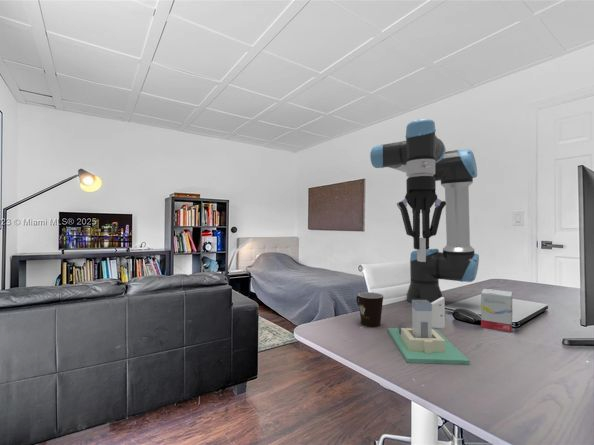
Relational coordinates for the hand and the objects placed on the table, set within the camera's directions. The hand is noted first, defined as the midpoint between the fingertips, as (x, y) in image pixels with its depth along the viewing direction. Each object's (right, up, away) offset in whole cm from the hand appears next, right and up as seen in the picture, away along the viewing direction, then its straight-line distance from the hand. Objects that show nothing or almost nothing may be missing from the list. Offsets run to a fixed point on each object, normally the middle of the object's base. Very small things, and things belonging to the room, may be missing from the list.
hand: (421, 261), depth 83 cm
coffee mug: (-9, -25, +22) cm, 34 cm away
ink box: (+33, -25, +17) cm, 44 cm away
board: (+1, -24, +2) cm, 24 cm away
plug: (0, -23, 0) cm, 23 cm away
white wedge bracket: (+12, -25, +18) cm, 33 cm away
